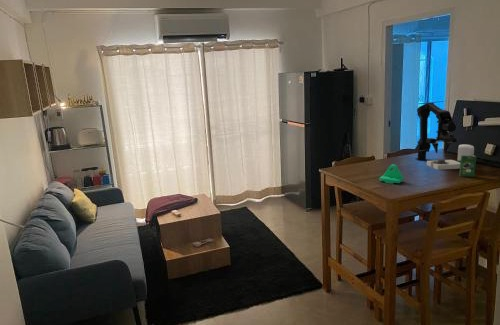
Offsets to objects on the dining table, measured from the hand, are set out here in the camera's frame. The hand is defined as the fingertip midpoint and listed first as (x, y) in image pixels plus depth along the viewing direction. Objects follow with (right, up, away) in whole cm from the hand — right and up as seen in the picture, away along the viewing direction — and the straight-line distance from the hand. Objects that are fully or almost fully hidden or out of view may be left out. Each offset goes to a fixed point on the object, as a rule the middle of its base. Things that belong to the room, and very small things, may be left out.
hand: (440, 152), depth 253 cm
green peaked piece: (-45, -19, -28) cm, 56 cm away
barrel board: (+4, -10, +2) cm, 11 cm away
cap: (0, -10, +2) cm, 10 cm away
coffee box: (+4, -15, -23) cm, 28 cm away
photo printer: (+25, -6, +15) cm, 30 cm away
